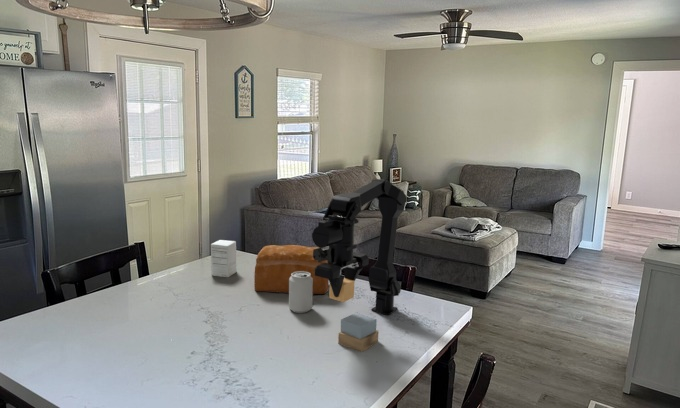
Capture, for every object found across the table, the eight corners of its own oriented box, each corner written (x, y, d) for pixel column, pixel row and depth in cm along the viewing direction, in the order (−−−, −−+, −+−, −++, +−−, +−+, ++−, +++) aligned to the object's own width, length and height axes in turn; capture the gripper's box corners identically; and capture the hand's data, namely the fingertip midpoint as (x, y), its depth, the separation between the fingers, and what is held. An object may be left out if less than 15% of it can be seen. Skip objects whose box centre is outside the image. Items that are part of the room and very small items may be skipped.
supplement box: (220, 270, 199) (219, 239, 196) (237, 272, 197) (236, 241, 195) (210, 275, 192) (210, 243, 189) (228, 277, 190) (227, 245, 188)
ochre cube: (339, 293, 145) (340, 276, 144) (353, 297, 142) (354, 280, 141) (329, 298, 141) (329, 281, 140) (343, 302, 138) (344, 285, 137)
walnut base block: (354, 334, 144) (354, 323, 143) (378, 342, 139) (378, 330, 139) (338, 344, 137) (338, 332, 137) (362, 353, 133) (363, 340, 132)
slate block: (356, 323, 143) (356, 312, 142) (376, 331, 138) (376, 319, 138) (340, 331, 138) (340, 319, 137) (360, 339, 133) (360, 326, 133)
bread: (260, 280, 188) (260, 239, 185) (329, 283, 187) (330, 242, 184) (252, 293, 175) (251, 249, 172) (326, 296, 173) (327, 252, 170)
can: (308, 315, 156) (309, 278, 154) (285, 312, 158) (286, 276, 156) (314, 306, 164) (315, 271, 162) (292, 304, 165) (293, 269, 163)
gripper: (339, 230, 150) (338, 280, 153) (299, 242, 135) (298, 296, 138) (370, 236, 144) (368, 288, 147) (332, 249, 129) (331, 306, 132)
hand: (341, 294), depth 141 cm, fingers closed on ochre cube, 5 cm apart
